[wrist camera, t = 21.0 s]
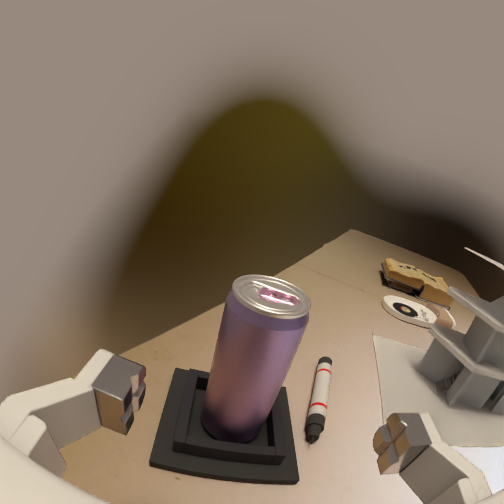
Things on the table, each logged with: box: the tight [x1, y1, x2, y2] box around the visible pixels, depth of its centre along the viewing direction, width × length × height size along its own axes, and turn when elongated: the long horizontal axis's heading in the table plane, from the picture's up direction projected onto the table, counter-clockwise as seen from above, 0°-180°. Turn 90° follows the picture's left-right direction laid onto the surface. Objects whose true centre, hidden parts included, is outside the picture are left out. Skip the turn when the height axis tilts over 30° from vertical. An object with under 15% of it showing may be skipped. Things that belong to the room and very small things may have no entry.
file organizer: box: [372, 248, 504, 447], centre depth 30 cm, size 26×35×22 cm
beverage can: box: [201, 275, 311, 443], centre depth 22 cm, size 6×6×15 cm
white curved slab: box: [382, 296, 456, 330], centre depth 61 cm, size 12×3×20 cm
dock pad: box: [149, 368, 299, 484], centre depth 24 cm, size 13×13×3 cm
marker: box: [306, 357, 332, 444], centre depth 30 cm, size 15×2×2 cm, turn 163°
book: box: [381, 258, 454, 309], centre depth 81 cm, size 25×17×6 cm, turn 69°
